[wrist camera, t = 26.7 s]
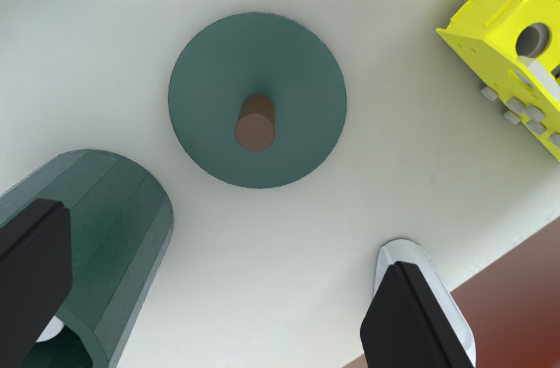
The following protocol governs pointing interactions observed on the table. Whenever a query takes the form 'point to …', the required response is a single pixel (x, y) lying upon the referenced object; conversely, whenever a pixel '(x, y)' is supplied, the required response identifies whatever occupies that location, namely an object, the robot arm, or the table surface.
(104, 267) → the tin
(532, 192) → the table surface
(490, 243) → the table surface
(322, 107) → the tin lid
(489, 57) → the yellow toy chassis
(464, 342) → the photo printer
